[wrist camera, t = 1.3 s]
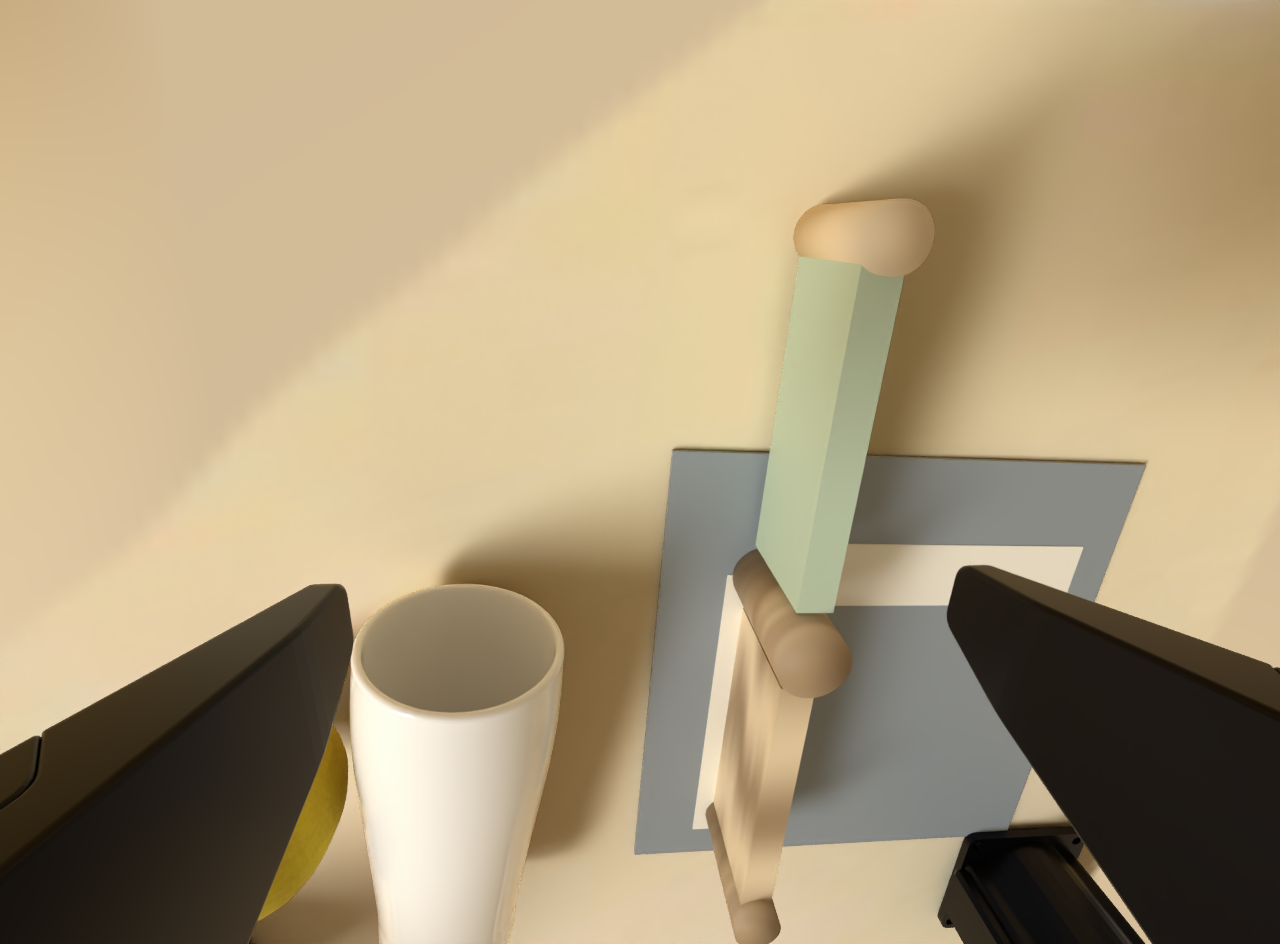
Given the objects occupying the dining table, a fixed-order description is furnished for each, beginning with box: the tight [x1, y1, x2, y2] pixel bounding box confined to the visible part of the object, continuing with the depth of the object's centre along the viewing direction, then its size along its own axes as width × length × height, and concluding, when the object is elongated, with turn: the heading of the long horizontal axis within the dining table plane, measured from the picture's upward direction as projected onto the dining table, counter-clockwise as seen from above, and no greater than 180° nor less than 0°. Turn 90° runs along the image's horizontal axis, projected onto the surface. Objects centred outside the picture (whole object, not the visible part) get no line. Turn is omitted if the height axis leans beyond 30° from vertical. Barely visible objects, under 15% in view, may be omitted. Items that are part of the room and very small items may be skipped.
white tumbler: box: [350, 584, 564, 944], centre depth 23 cm, size 7×7×15 cm
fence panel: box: [756, 198, 935, 613], centre depth 19 cm, size 12×2×5 cm, turn 176°
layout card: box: [634, 450, 1146, 855], centre depth 27 cm, size 19×20×1 cm
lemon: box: [257, 725, 348, 922], centre depth 21 cm, size 6×6×8 cm
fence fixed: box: [705, 549, 852, 944], centre depth 24 cm, size 15×2×6 cm, turn 176°
